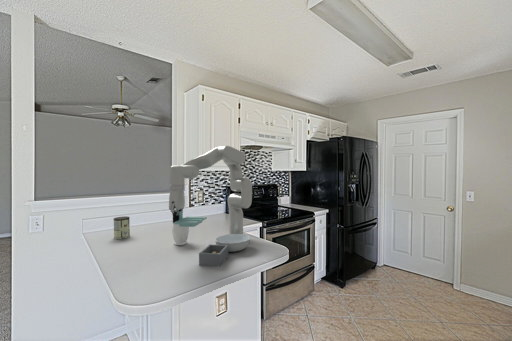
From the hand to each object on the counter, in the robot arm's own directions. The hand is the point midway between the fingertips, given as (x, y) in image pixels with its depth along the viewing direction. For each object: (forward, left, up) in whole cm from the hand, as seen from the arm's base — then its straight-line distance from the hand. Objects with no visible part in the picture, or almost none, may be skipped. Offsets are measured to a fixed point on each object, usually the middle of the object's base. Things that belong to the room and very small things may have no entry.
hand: (177, 221), depth 133 cm
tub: (0, +21, -20) cm, 29 cm away
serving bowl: (-19, +26, -20) cm, 38 cm away
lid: (0, +6, -1) cm, 6 cm away
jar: (-26, -11, -20) cm, 35 cm away
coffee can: (-36, -62, -20) cm, 75 cm away
